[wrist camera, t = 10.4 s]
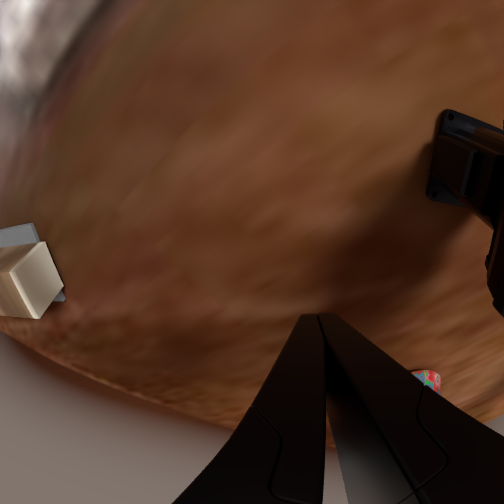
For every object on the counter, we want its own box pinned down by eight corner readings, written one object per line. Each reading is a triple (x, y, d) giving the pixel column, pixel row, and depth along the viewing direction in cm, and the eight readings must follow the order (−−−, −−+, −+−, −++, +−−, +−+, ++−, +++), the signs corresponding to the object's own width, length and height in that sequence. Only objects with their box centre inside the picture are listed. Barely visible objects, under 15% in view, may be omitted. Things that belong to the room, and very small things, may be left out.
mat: (32, 222, 21) (30, 224, 21) (65, 298, 25) (64, 301, 25) (-28, 236, 22) (-31, 238, 22) (1, 297, 26) (-1, 299, 26)
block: (14, 271, 18) (-42, 274, 18) (39, 318, 20) (-22, 312, 21) (44, 241, 21) (-16, 250, 22) (63, 285, 24) (1, 286, 25)
